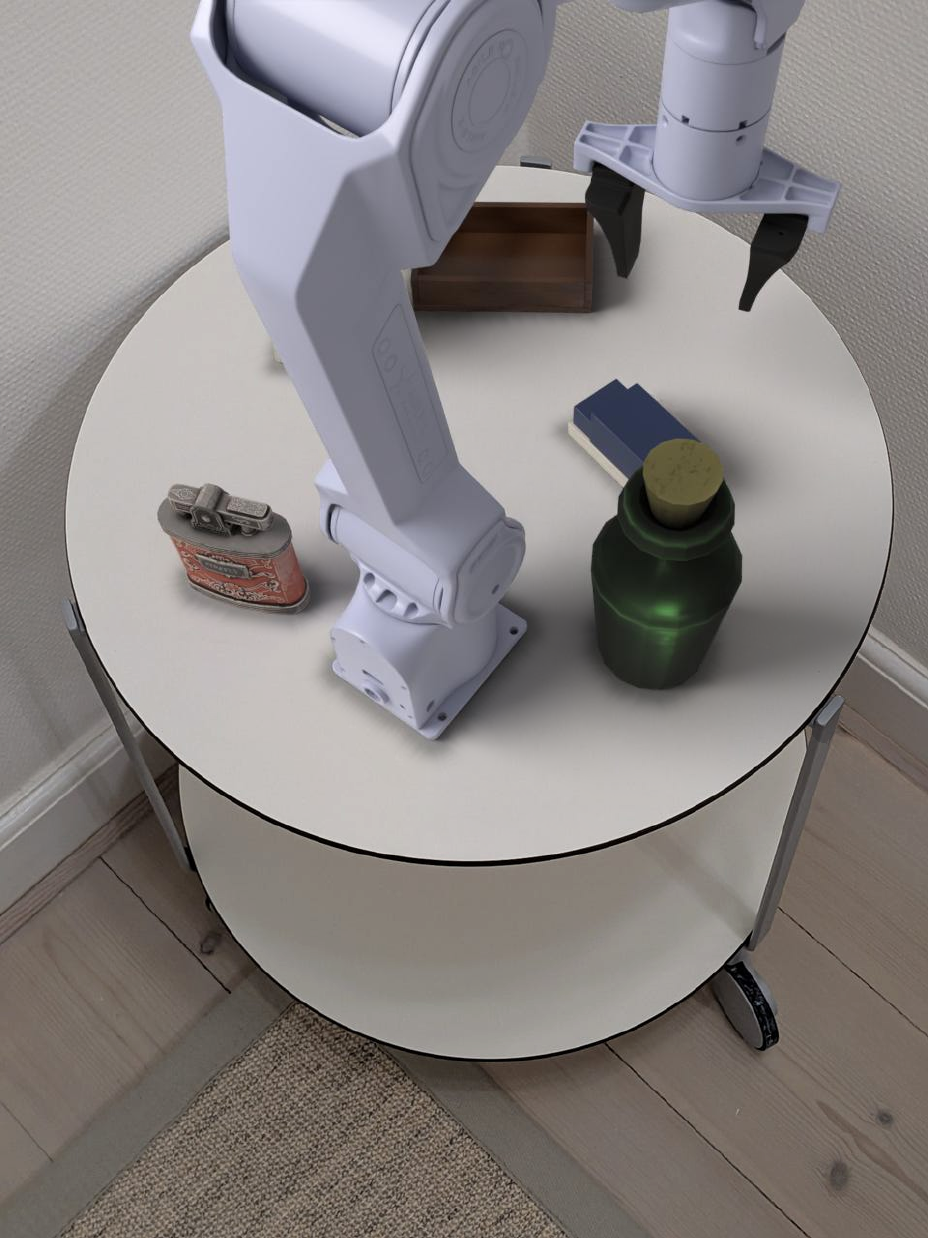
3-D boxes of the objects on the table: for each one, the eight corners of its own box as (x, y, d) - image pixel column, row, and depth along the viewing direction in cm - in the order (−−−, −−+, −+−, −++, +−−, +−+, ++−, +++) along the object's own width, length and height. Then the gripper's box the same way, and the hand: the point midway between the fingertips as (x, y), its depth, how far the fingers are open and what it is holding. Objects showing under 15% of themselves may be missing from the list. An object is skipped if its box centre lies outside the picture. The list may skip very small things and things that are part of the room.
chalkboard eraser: (699, 484, 80) (707, 445, 76) (652, 517, 79) (658, 479, 75) (613, 402, 83) (617, 361, 79) (567, 433, 82) (569, 393, 78)
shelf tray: (592, 233, 90) (594, 202, 88) (590, 312, 87) (592, 282, 84) (422, 231, 91) (418, 200, 89) (413, 309, 88) (410, 279, 85)
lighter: (180, 593, 78) (134, 506, 69) (201, 548, 79) (159, 457, 71) (299, 623, 76) (269, 538, 68) (318, 577, 78) (290, 488, 69)
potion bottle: (666, 730, 72) (703, 575, 56) (556, 651, 75) (562, 482, 59) (747, 633, 75) (804, 459, 59) (638, 560, 77) (664, 375, 61)
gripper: (877, 75, 63) (822, 266, 75) (609, 14, 67) (597, 207, 79) (840, 168, 60) (790, 351, 72) (562, 99, 64) (557, 286, 76)
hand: (687, 282), depth 75 cm, fingers open, 7 cm apart
